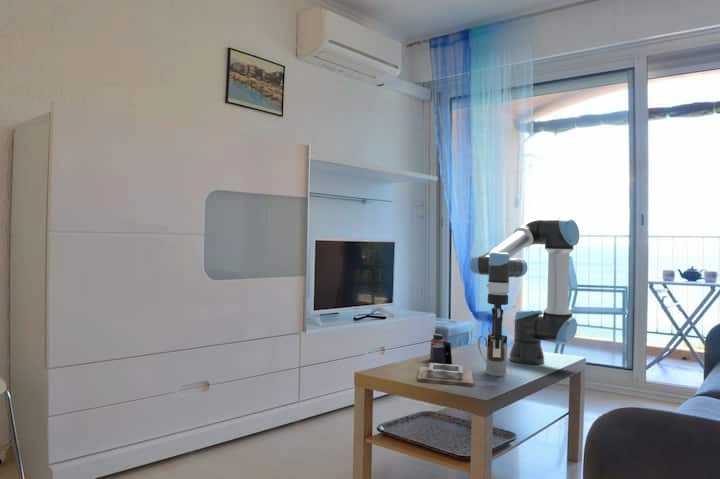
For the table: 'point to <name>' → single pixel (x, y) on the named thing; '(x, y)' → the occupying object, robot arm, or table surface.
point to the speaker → (442, 353)
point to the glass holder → (493, 366)
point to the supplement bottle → (436, 342)
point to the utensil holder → (490, 351)
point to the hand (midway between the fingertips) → (495, 355)
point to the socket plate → (445, 374)
